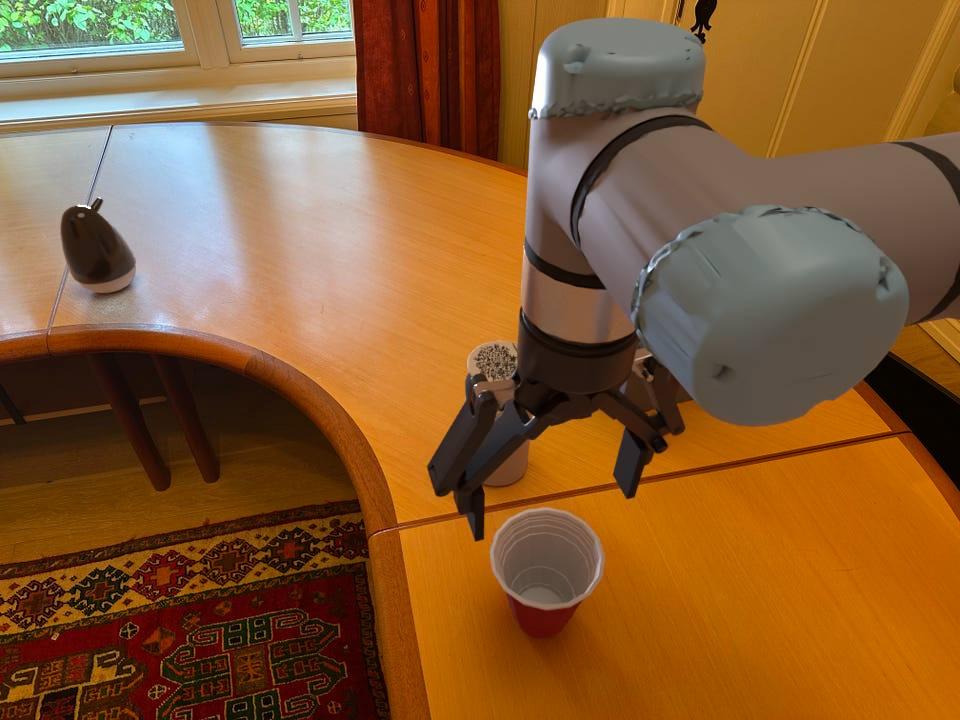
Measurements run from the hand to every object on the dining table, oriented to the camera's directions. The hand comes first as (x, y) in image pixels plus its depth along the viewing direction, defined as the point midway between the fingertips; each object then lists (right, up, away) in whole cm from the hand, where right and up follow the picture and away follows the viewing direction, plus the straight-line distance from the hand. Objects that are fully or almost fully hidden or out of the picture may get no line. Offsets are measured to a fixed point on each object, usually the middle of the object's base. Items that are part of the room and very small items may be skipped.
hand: (551, 505), depth 51 cm
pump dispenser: (-72, +26, +57) cm, 95 cm away
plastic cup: (0, -15, +14) cm, 20 cm away
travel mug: (-4, -1, +28) cm, 28 cm away
